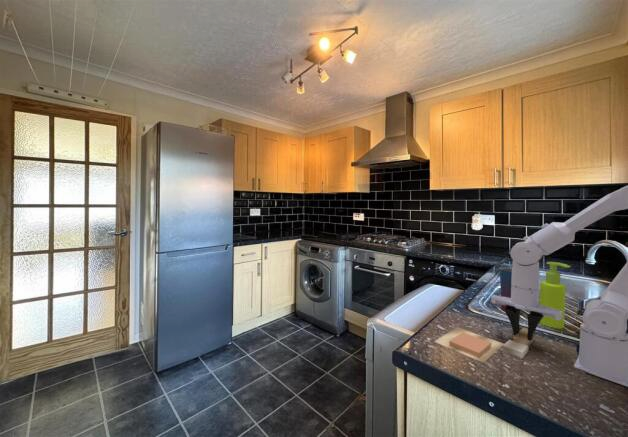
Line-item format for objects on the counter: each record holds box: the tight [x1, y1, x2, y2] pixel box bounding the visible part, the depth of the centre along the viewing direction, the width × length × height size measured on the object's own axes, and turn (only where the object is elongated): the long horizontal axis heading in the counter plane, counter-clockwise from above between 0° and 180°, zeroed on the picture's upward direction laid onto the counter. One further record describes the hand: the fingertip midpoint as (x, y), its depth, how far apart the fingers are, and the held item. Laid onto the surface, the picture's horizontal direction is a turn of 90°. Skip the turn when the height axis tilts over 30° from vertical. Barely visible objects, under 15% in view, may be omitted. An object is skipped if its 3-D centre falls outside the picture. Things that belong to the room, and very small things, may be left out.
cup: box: [499, 267, 513, 312], centre depth 92 cm, size 7×7×15 cm
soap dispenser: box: [539, 261, 572, 330], centre depth 80 cm, size 6×7×20 cm
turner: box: [502, 327, 535, 360], centre depth 68 cm, size 4×14×3 cm, turn 127°
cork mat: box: [433, 326, 505, 364], centre depth 69 cm, size 12×14×1 cm
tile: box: [449, 333, 491, 357], centre depth 67 cm, size 7×1×8 cm
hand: (523, 336), depth 69 cm, fingers closed on turner, 2 cm apart
